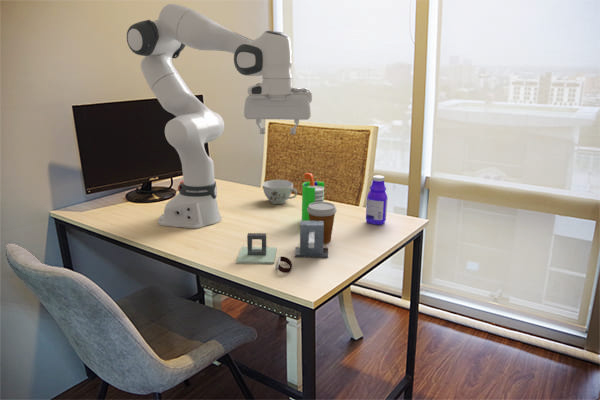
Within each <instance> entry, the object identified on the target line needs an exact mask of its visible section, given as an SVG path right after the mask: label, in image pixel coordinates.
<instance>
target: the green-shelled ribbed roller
mask: <svg viewBox="0 0 600 400" xmlns="http://www.w3.org/2000/svg"><path fill="white" fill-rule="evenodd" d="M314 177H315V176H314V175H313V173H311V172H305V173H304V178H303V179H304V180H309V181H307V182H303V183H302V186H301V187H302V189H301V190H302V192H301V221H309V213H308V211H307V208H308V206H309V204H311V203H314V202H325V182H323V181H315V178H314Z"/></svg>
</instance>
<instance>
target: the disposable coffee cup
mask: <svg viewBox="0 0 600 400" xmlns="http://www.w3.org/2000/svg"><path fill="white" fill-rule="evenodd" d="M307 211H308V213H309V221H324V235H323V245H325V244H329V243H330V242H331V240H332V235H333V229H334V226H333V225H334V222H335V214H336V212H337V208H336V205H335V204H334V203H332V202H328V201H327V202H326V201H324V202H314V203H311V204H309V206H308V208H307Z"/></svg>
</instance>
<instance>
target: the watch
mask: <svg viewBox="0 0 600 400" xmlns="http://www.w3.org/2000/svg"><path fill="white" fill-rule="evenodd" d="M281 262H282V263H283V262H284V263H285V264H287V265H288V266H289V267H283V266H282V265H281ZM292 267H293V262H292V261H291V259H290V258H288V257H286V256H279V257H277V260H276V264H275V269H277V270H278V271H279V272H280V273H283V274H288V273H290V272H291V271H292Z"/></svg>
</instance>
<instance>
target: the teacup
mask: <svg viewBox="0 0 600 400" xmlns="http://www.w3.org/2000/svg"><path fill="white" fill-rule="evenodd" d="M262 190H263V193H264V195H265V197H266V198H267V199H268V200H269V201H270V203H272V204H274V205H281V204H284V203H285V202H287V200H291V199H295V198H296V197H297V195H298V190H297V189H296V188H294V183H293V182H292V181H290V180H287V179H271V180H266V181H264V182H263V183H262ZM292 192H295V194H294V195H292V196H291V194H292Z"/></svg>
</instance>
